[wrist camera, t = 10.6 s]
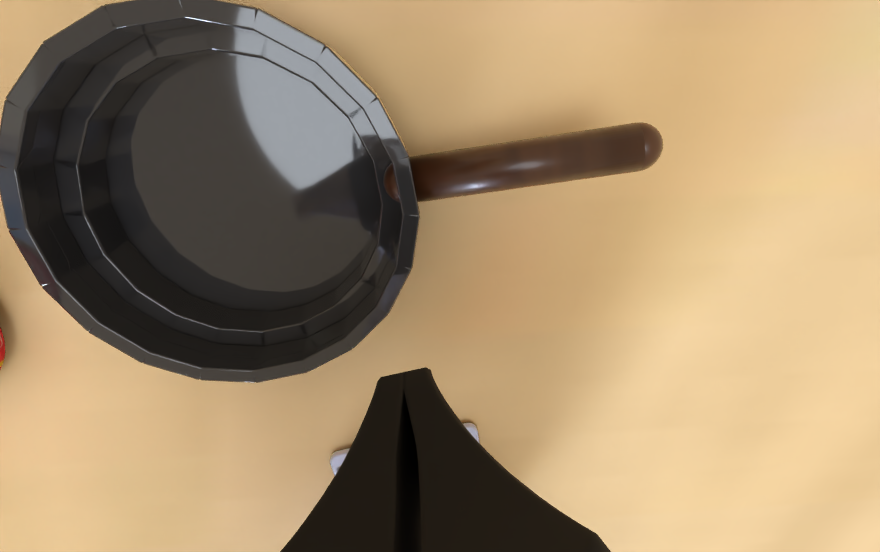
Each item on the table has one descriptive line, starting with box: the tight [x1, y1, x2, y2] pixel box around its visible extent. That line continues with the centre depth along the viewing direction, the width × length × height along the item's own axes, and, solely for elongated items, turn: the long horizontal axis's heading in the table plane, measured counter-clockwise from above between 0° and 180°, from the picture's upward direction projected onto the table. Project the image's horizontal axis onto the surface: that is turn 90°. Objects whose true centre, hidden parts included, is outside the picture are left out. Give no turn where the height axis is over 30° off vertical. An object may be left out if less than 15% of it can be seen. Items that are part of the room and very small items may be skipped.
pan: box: [0, 0, 420, 383], centre depth 17 cm, size 13×13×4 cm
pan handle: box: [384, 123, 663, 203], centre depth 16 cm, size 10×2×3 cm, turn 99°
